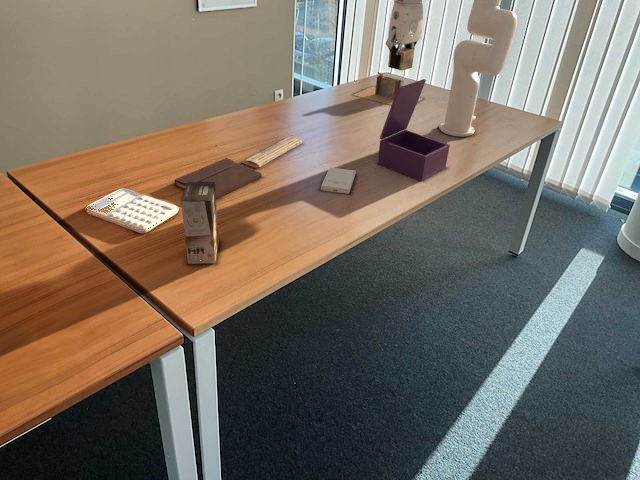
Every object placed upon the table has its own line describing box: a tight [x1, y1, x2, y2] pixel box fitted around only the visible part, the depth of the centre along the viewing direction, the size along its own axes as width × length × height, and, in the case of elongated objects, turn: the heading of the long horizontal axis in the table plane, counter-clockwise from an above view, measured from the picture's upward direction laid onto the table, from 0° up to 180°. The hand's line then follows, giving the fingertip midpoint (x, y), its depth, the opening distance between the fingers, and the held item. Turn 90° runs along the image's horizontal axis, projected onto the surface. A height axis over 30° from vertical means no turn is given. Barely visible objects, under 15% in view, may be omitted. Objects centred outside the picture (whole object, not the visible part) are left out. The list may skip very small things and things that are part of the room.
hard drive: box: [320, 167, 357, 194], centre depth 155 cm, size 2×8×12 cm
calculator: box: [85, 188, 179, 234], centre depth 135 cm, size 13×20×2 cm, turn 62°
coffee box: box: [180, 182, 220, 265], centre depth 118 cm, size 9×6×16 cm
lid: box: [379, 78, 427, 140], centre depth 161 cm, size 17×14×1 cm
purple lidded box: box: [377, 129, 451, 182], centre depth 165 cm, size 17×14×8 cm
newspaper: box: [241, 136, 303, 169], centre depth 170 cm, size 24×7×2 cm, turn 148°
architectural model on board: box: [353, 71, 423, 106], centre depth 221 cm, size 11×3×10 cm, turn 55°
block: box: [387, 46, 415, 72], centre depth 151 cm, size 5×5×5 cm
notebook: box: [174, 157, 263, 200], centre depth 152 cm, size 15×20×2 cm
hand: (400, 65), depth 152 cm, fingers closed on block, 5 cm apart
